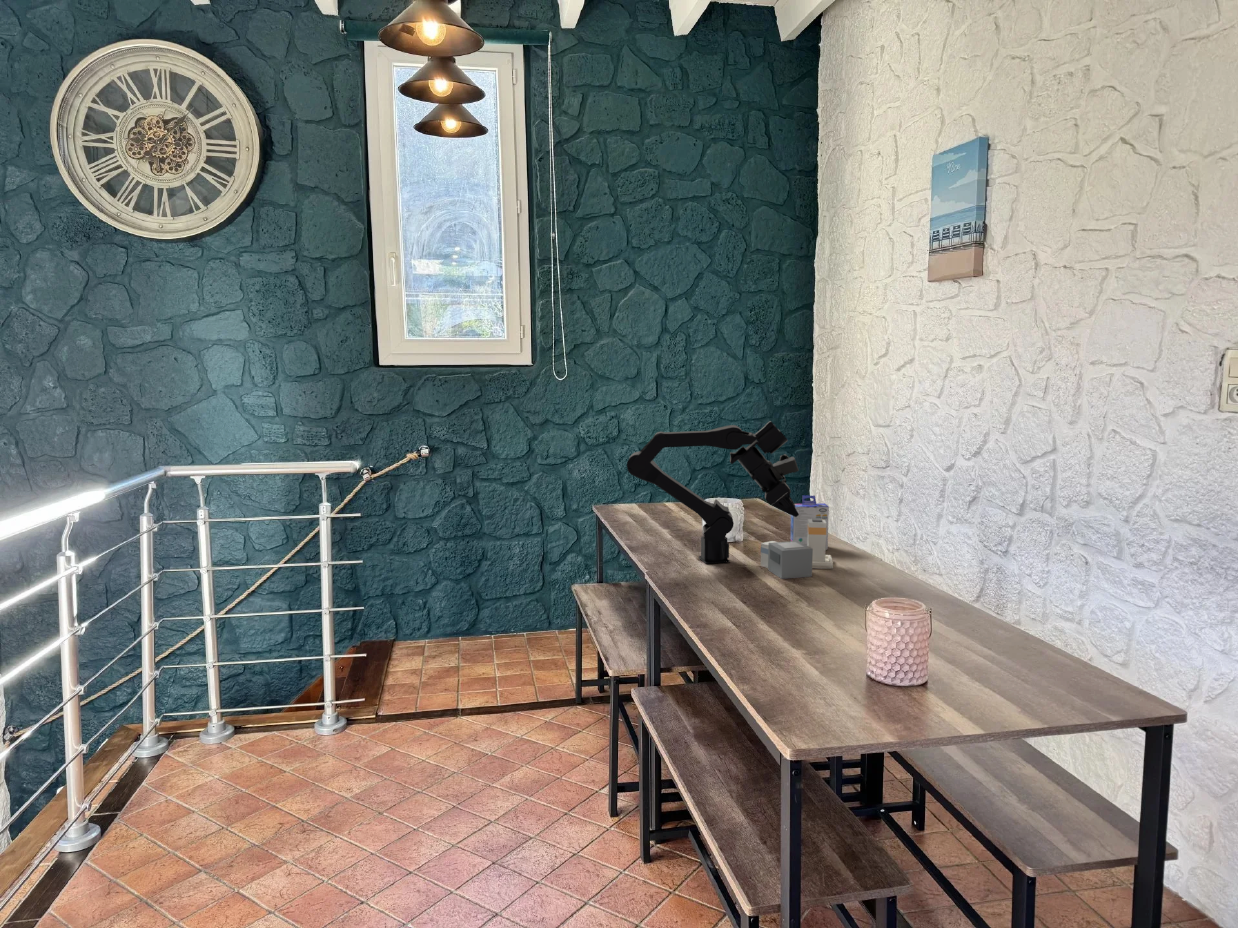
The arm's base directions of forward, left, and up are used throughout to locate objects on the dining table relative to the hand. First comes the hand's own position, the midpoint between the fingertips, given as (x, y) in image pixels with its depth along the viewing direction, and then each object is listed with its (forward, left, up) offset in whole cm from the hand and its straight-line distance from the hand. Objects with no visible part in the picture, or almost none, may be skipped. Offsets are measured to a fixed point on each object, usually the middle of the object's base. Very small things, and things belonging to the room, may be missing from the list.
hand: (795, 511), depth 210 cm
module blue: (-7, -2, -13) cm, 15 cm away
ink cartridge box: (+10, +13, -14) cm, 21 cm away
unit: (-6, -9, -13) cm, 17 cm away
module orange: (+4, -4, -12) cm, 14 cm away
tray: (+4, -3, -13) cm, 14 cm away
